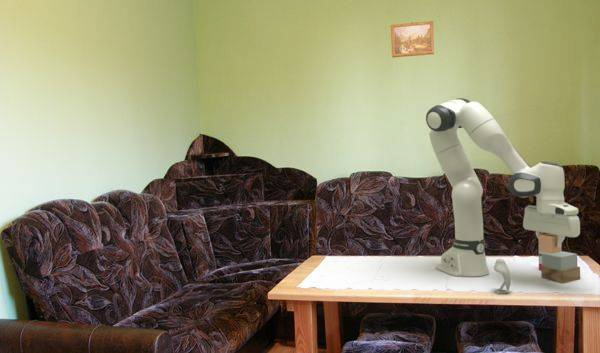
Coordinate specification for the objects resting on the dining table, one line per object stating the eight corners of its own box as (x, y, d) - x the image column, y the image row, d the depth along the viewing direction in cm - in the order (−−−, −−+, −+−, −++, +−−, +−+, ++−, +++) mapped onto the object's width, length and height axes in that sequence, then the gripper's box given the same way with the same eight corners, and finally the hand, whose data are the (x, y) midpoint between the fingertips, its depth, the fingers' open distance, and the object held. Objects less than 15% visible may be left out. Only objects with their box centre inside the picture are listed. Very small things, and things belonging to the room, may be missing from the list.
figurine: (512, 295, 168) (511, 261, 168) (496, 295, 170) (495, 261, 169) (509, 289, 176) (508, 256, 175) (493, 288, 177) (492, 256, 176)
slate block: (542, 266, 187) (542, 253, 187) (558, 263, 191) (558, 250, 190) (561, 270, 180) (560, 257, 179) (577, 267, 183) (577, 254, 183)
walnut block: (541, 279, 187) (541, 266, 187) (558, 275, 192) (558, 262, 191) (562, 284, 179) (562, 271, 179) (580, 279, 183) (580, 266, 183)
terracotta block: (539, 251, 175) (539, 234, 174) (548, 249, 177) (548, 233, 177) (551, 253, 170) (551, 236, 170) (560, 251, 173) (561, 235, 172)
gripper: (519, 205, 180) (519, 241, 181) (571, 211, 162) (570, 252, 163) (530, 203, 183) (530, 239, 184) (583, 209, 165) (582, 249, 166)
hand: (549, 245), depth 174 cm, fingers closed on terracotta block, 5 cm apart
